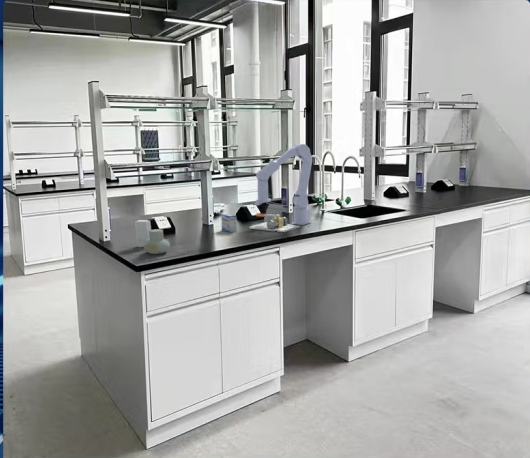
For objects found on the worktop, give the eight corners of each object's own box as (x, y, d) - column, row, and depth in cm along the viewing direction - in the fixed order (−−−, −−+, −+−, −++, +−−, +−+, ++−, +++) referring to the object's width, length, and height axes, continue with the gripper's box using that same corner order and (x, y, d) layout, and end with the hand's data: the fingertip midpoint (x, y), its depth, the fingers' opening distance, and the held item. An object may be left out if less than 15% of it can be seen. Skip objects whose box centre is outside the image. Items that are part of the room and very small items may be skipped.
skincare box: (152, 245, 225) (151, 220, 222) (148, 247, 220) (146, 221, 218) (141, 245, 226) (139, 219, 224) (136, 247, 222) (134, 221, 220)
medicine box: (221, 230, 257) (220, 214, 255) (228, 229, 260) (227, 213, 258) (230, 232, 251) (229, 216, 249) (237, 231, 254) (236, 215, 252)
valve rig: (266, 223, 273) (266, 213, 272) (299, 227, 261) (299, 216, 259) (249, 228, 260) (249, 217, 259) (283, 232, 248) (283, 221, 247)
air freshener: (173, 251, 213) (171, 229, 211) (163, 255, 205) (162, 232, 203) (151, 249, 216) (150, 228, 214) (141, 254, 209) (139, 231, 207)
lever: (280, 216, 259) (280, 214, 259) (278, 217, 257) (278, 215, 257) (258, 215, 266) (258, 212, 266) (256, 216, 264) (255, 213, 263)
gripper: (262, 190, 271) (263, 214, 273) (249, 193, 258) (250, 218, 261) (274, 190, 267) (274, 214, 270) (261, 193, 255) (261, 219, 258)
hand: (263, 216), depth 265 cm, fingers closed
